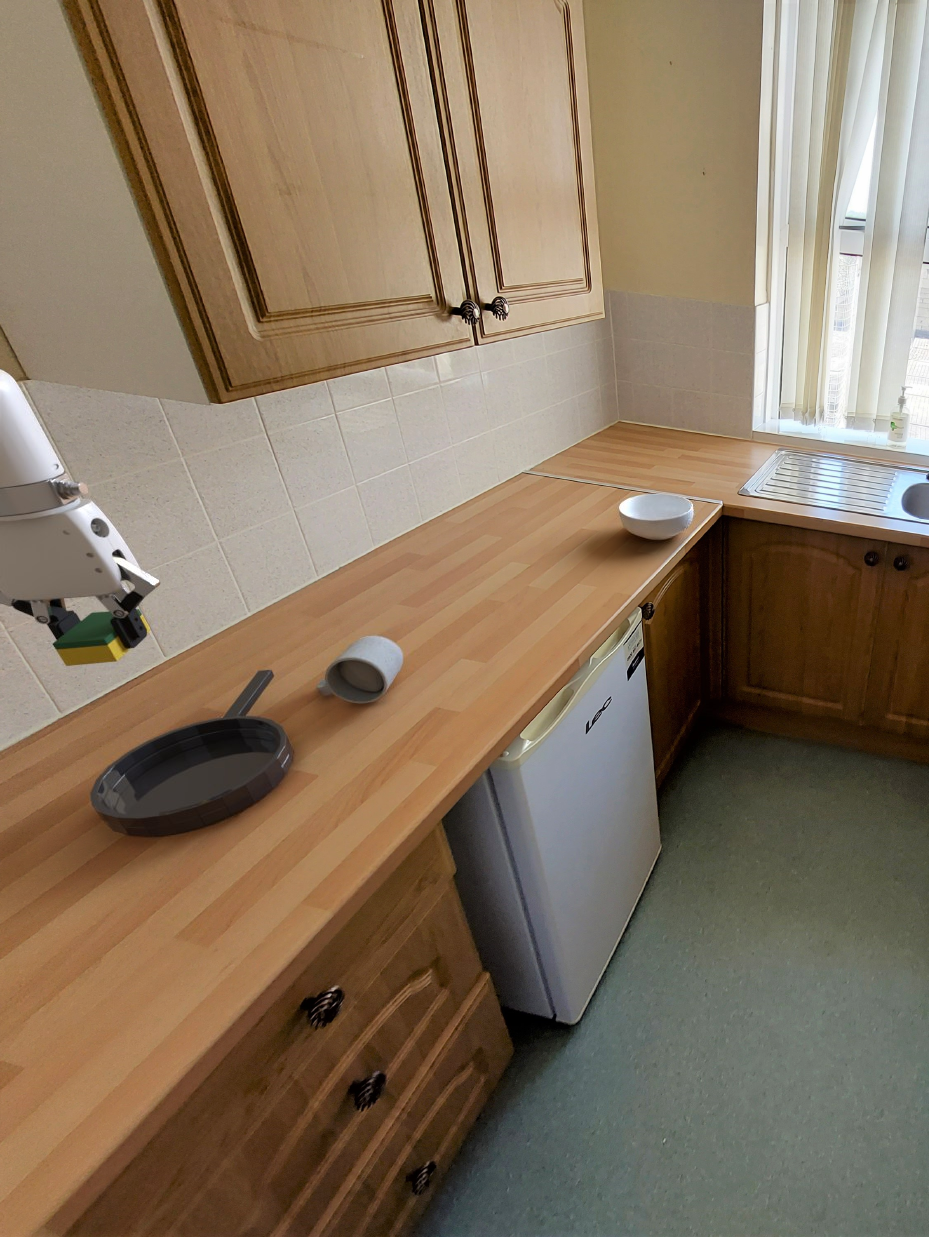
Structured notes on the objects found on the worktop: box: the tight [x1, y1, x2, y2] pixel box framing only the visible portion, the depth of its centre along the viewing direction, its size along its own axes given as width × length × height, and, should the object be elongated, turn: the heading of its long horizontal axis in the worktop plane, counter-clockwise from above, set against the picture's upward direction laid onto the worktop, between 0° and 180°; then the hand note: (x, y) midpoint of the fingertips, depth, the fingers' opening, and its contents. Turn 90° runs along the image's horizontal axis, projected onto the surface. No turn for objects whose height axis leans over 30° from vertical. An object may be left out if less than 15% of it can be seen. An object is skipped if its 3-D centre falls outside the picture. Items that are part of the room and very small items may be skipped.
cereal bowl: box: [618, 493, 694, 541], centre depth 150 cm, size 17×17×7 cm
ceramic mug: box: [316, 634, 404, 705], centre depth 93 cm, size 11×8×8 cm
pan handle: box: [222, 669, 275, 717], centre depth 88 cm, size 2×11×1 cm, turn 17°
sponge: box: [52, 608, 151, 667], centre depth 74 cm, size 4×7×3 cm, turn 18°
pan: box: [89, 715, 295, 838], centre depth 77 cm, size 17×17×4 cm
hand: (108, 643), depth 75 cm, fingers closed on sponge, 4 cm apart
